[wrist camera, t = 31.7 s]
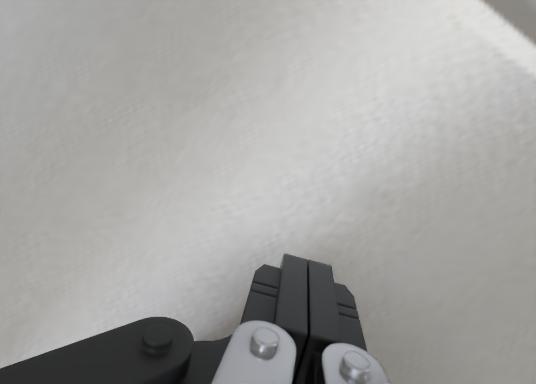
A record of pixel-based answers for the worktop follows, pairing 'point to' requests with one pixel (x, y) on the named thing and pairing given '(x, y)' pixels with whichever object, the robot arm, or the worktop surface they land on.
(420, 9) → the worktop surface
